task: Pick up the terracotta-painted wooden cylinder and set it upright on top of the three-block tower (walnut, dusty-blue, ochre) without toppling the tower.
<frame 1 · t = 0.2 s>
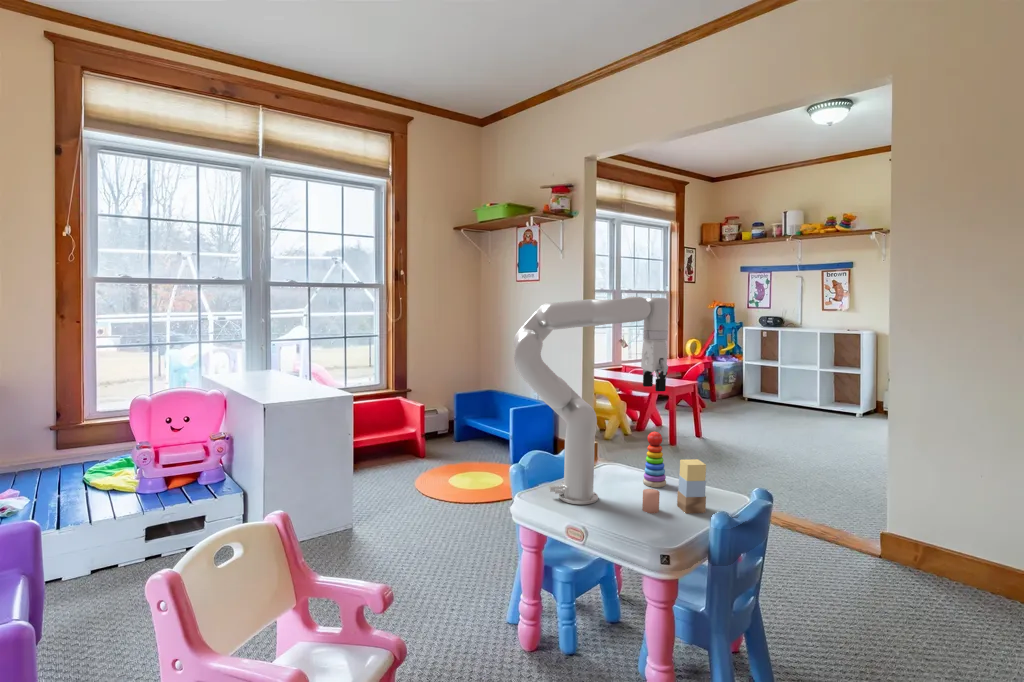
hand: (653, 388, 190), 36 cm above the table, tool pointing down, fingers open, 9 cm apart
tower top: (692, 478, 182), point 10 cm above the table, touching tower mid
tower base: (691, 509, 183), on the table, touching tower mid
tower mid: (691, 493, 182), point 5 cm above the table, touching tower base, tower top
stacking toy: (654, 485, 206), on the table
cylinder: (650, 510, 181), on the table
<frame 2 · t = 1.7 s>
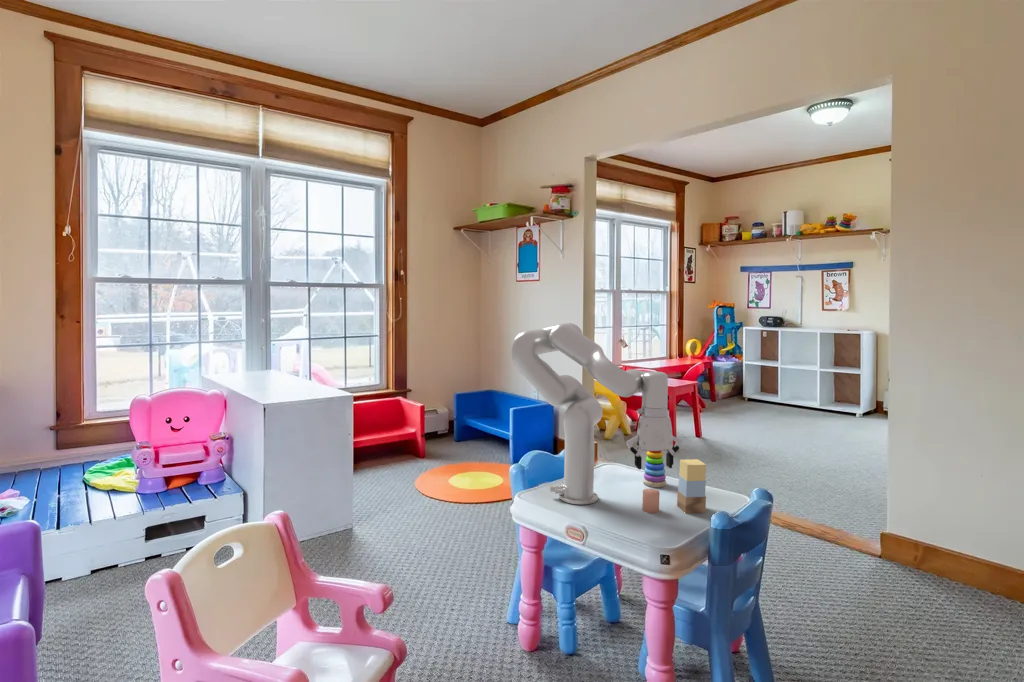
hand: (653, 467, 180), 14 cm above the table, tool pointing down, fingers open, 9 cm apart
nothing on the table moved.
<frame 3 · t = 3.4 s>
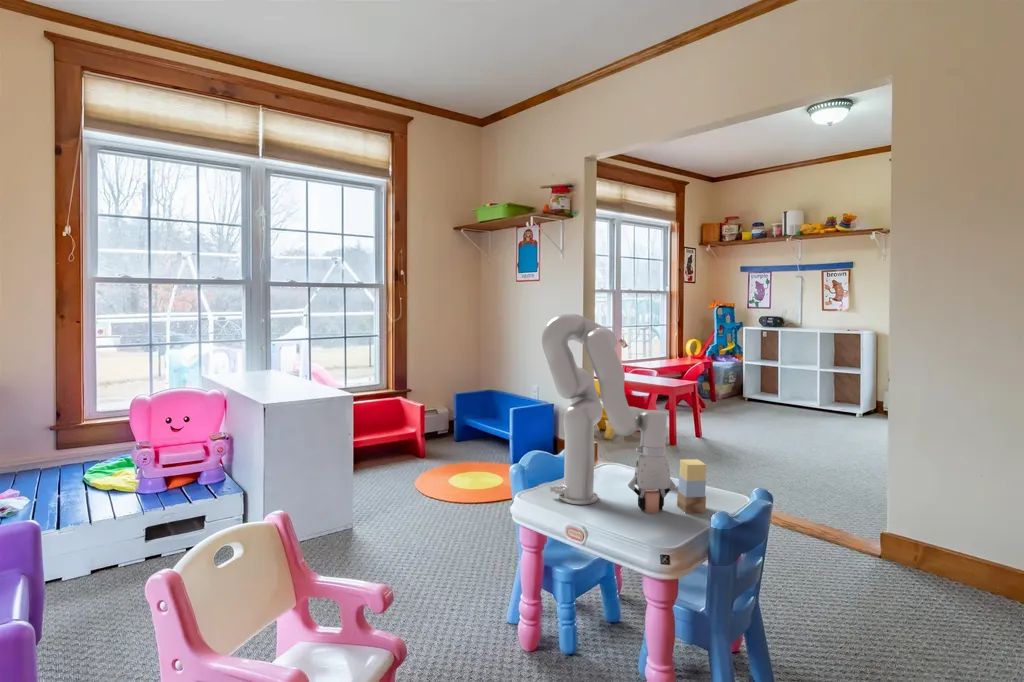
hand: (650, 508, 181), 1 cm above the table, tool pointing down, fingers closed on cylinder, 5 cm apart
cylinder: (650, 510, 181), on the table, touching gripper
everything else where it was.
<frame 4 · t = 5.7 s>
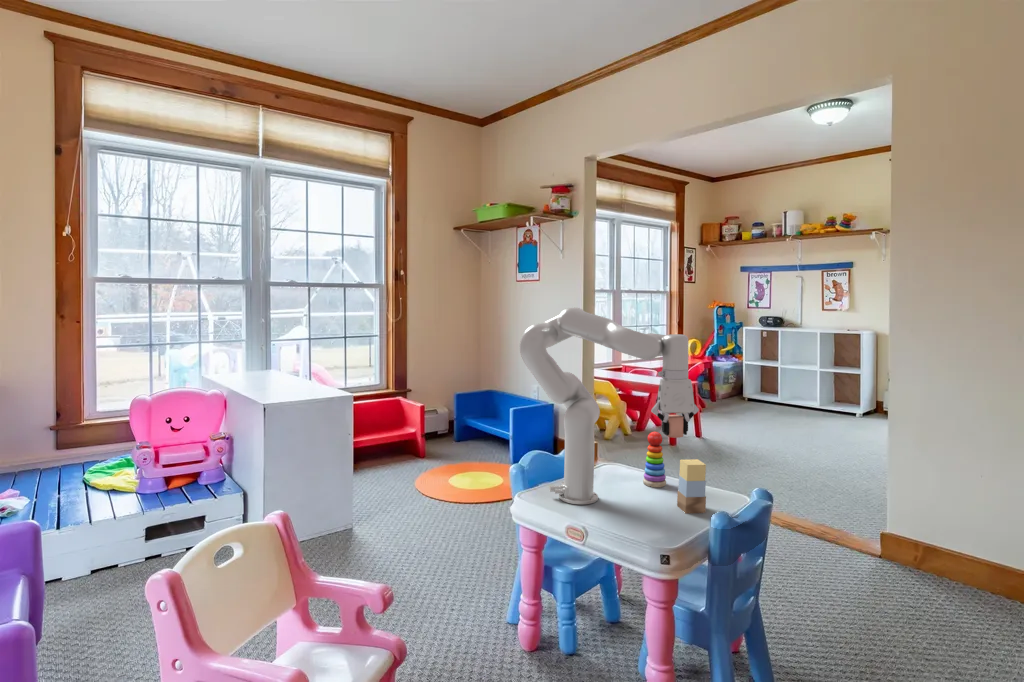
hand: (674, 433, 180), 24 cm above the table, tool pointing down, fingers closed on cylinder, 4 cm apart
cylinder: (674, 435, 180), point 23 cm above the table, touching gripper
everything else where it was.
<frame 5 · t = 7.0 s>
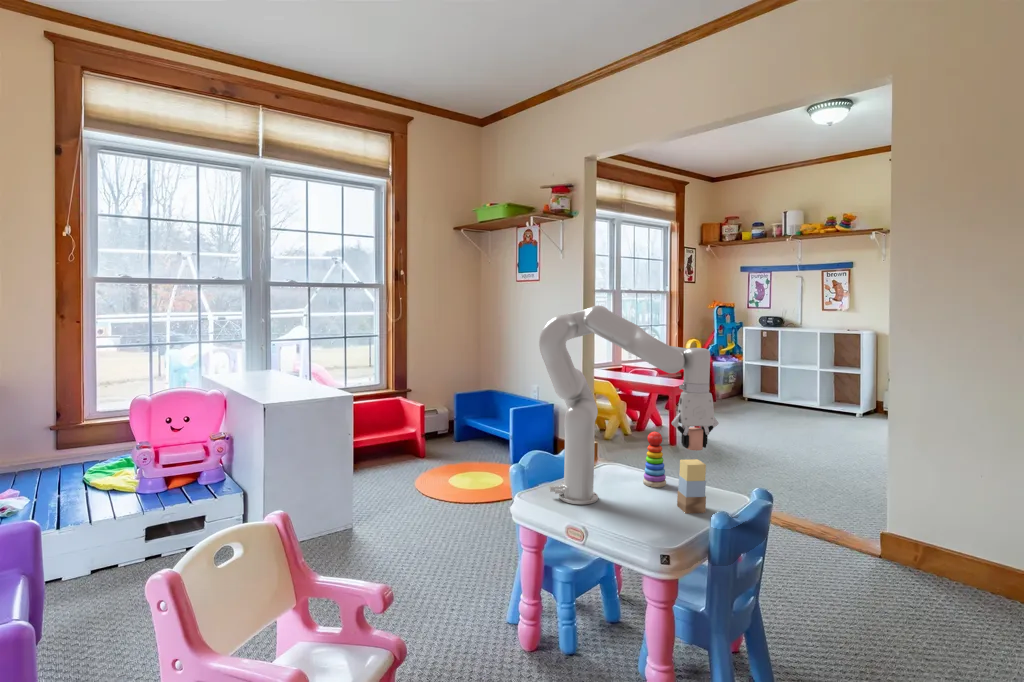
hand: (694, 446, 181), 20 cm above the table, tool pointing down, fingers closed on cylinder, 4 cm apart
cylinder: (694, 448, 181), point 19 cm above the table, touching gripper
everything else where it was.
when the fingers open (17 cm above the table, at t = 8.1 s): cylinder stays where it is, resting on tower top.
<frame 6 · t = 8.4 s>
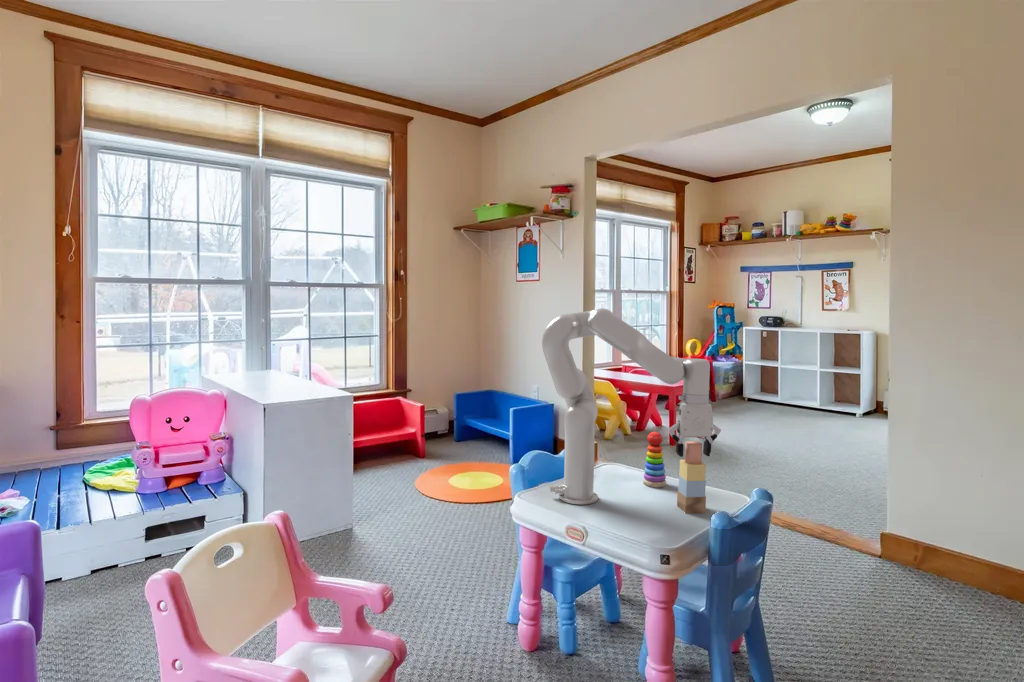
hand: (693, 455, 181), 17 cm above the table, tool pointing down, fingers open, 8 cm apart
tower top: (692, 477, 182), point 10 cm above the table, touching cylinder, tower mid
cylinder: (692, 462, 181), point 15 cm above the table, touching tower top
everything else where it was.
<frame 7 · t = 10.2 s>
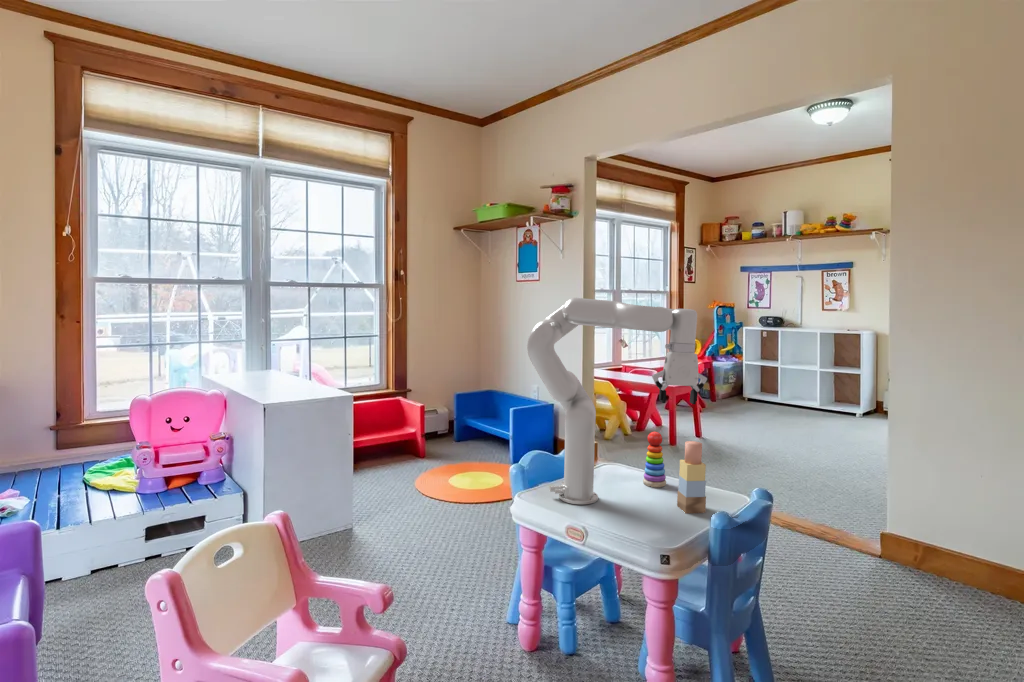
hand: (677, 403, 184), 33 cm above the table, tool pointing down, fingers open, 9 cm apart
nothing on the table moved.
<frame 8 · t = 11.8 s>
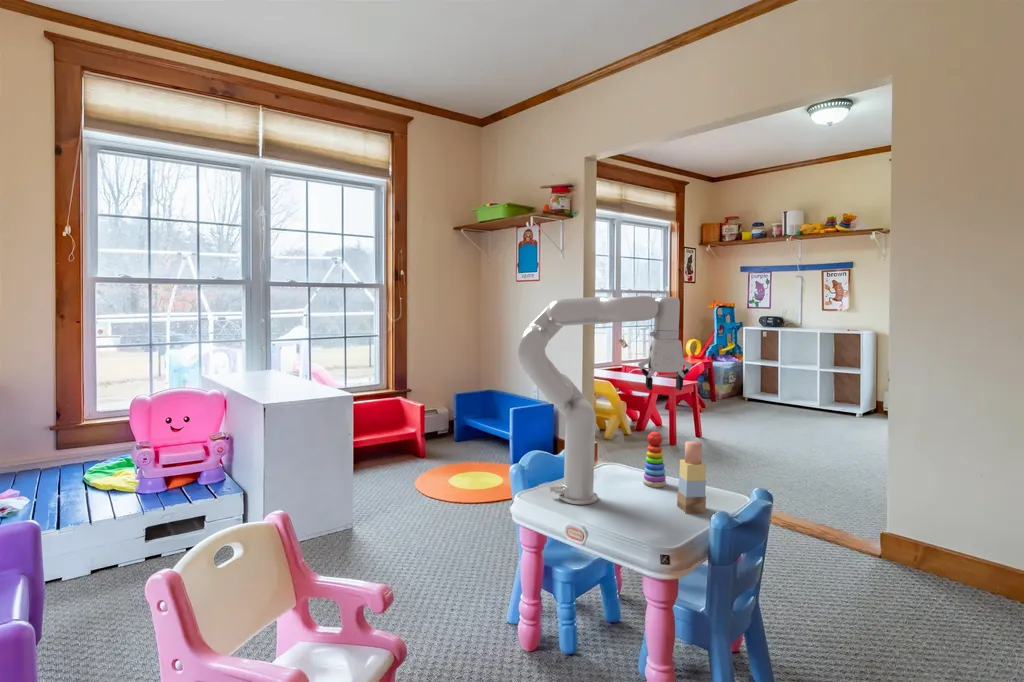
hand: (664, 389, 187), 36 cm above the table, tool pointing down, fingers open, 9 cm apart
nothing on the table moved.
at the end: cylinder 0.1 cm off-centre on the tower top, point 5.0 cm above the tower top's base; cylinder tilted 1°; tower top tilted 0° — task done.
